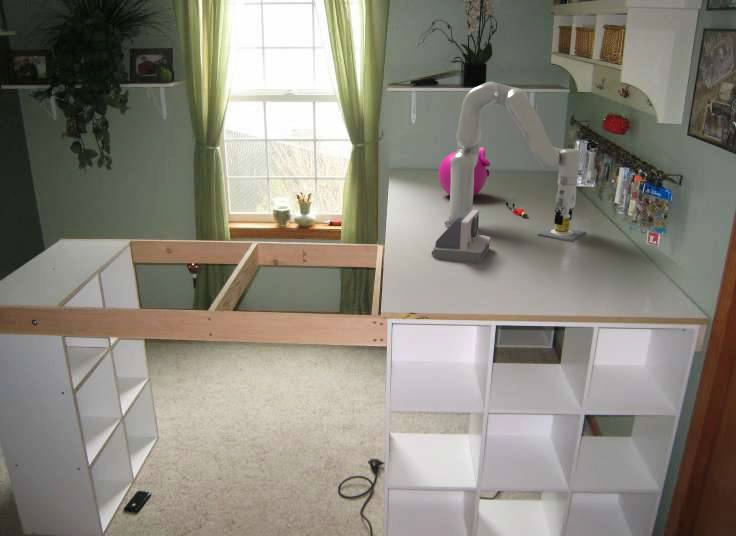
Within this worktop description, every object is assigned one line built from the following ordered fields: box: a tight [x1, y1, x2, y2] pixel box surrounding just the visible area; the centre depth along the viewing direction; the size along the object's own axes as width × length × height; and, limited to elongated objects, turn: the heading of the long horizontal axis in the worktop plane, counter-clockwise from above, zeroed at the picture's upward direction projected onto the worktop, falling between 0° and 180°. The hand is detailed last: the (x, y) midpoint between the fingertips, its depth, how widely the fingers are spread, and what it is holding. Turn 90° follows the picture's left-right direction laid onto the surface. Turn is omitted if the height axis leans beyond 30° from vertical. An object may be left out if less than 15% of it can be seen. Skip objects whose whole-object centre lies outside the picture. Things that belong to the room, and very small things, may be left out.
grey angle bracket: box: [431, 209, 492, 264], centre depth 243 cm, size 21×21×15 cm
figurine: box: [438, 146, 491, 197], centre depth 324 cm, size 23×24×25 cm
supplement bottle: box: [554, 209, 571, 234], centre depth 267 cm, size 5×5×10 cm
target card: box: [537, 224, 587, 243], centre depth 269 cm, size 16×14×1 cm
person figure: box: [505, 202, 528, 219], centre depth 300 cm, size 5×4×18 cm
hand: (562, 221), depth 267 cm, fingers open, 9 cm apart
